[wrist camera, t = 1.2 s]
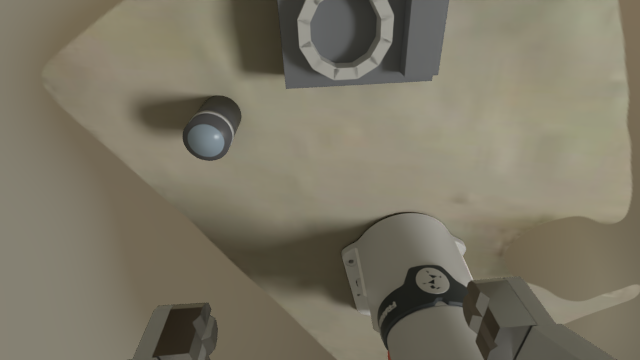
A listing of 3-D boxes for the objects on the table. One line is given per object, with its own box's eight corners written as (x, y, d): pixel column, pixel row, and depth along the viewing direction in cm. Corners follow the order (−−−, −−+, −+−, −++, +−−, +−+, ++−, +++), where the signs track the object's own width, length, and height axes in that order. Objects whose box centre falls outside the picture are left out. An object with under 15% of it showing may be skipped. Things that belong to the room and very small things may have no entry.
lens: (244, 131, 38) (233, 160, 32) (206, 133, 38) (188, 163, 32) (237, 94, 36) (224, 117, 30) (197, 96, 36) (175, 120, 30)
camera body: (416, 68, 35) (441, 88, 29) (288, 75, 35) (284, 97, 29) (429, -43, 30) (463, -49, 23) (277, -36, 30) (270, -39, 23)
